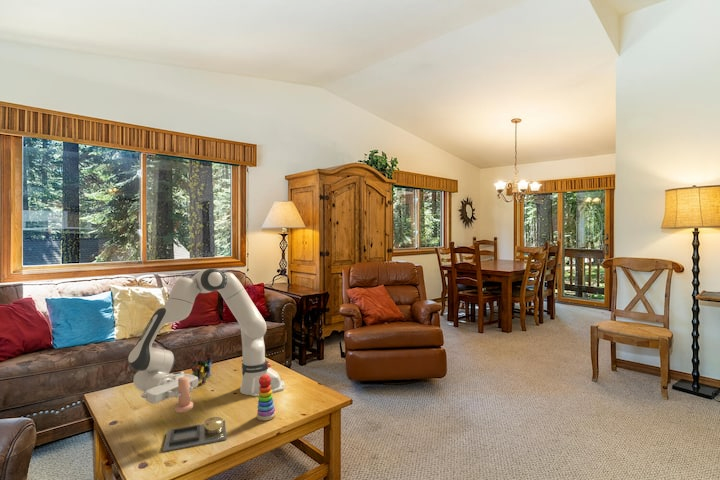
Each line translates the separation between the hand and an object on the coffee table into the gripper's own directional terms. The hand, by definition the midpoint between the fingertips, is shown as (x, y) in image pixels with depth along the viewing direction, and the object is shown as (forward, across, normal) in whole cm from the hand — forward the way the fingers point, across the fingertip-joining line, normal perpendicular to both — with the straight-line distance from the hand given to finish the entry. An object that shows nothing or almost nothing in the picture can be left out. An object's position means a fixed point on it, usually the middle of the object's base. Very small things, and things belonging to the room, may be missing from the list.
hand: (185, 392), depth 151 cm
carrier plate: (+2, +3, +19) cm, 19 cm away
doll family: (-44, +42, +19) cm, 64 cm away
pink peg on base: (-1, 0, +7) cm, 7 cm away
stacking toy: (+15, +28, +19) cm, 37 cm away
